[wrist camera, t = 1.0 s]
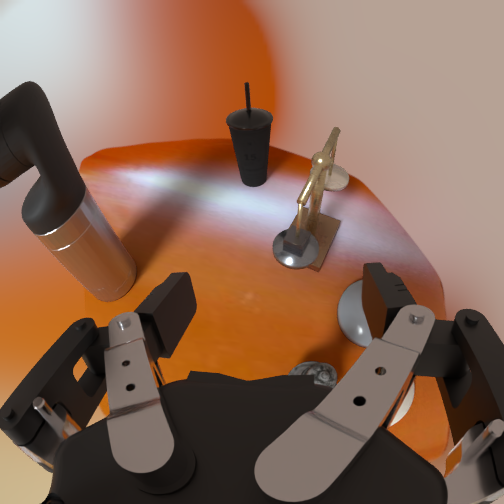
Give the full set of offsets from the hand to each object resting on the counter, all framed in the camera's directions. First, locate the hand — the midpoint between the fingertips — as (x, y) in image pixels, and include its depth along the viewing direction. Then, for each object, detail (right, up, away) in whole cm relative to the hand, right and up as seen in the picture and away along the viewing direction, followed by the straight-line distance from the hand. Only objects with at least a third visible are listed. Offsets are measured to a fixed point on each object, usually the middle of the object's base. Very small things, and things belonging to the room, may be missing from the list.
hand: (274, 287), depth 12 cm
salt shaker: (+6, -15, +18) cm, 24 cm away
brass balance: (+8, +4, +31) cm, 32 cm away
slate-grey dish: (+16, -7, +23) cm, 28 cm away
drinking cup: (-1, +16, +40) cm, 43 cm away
